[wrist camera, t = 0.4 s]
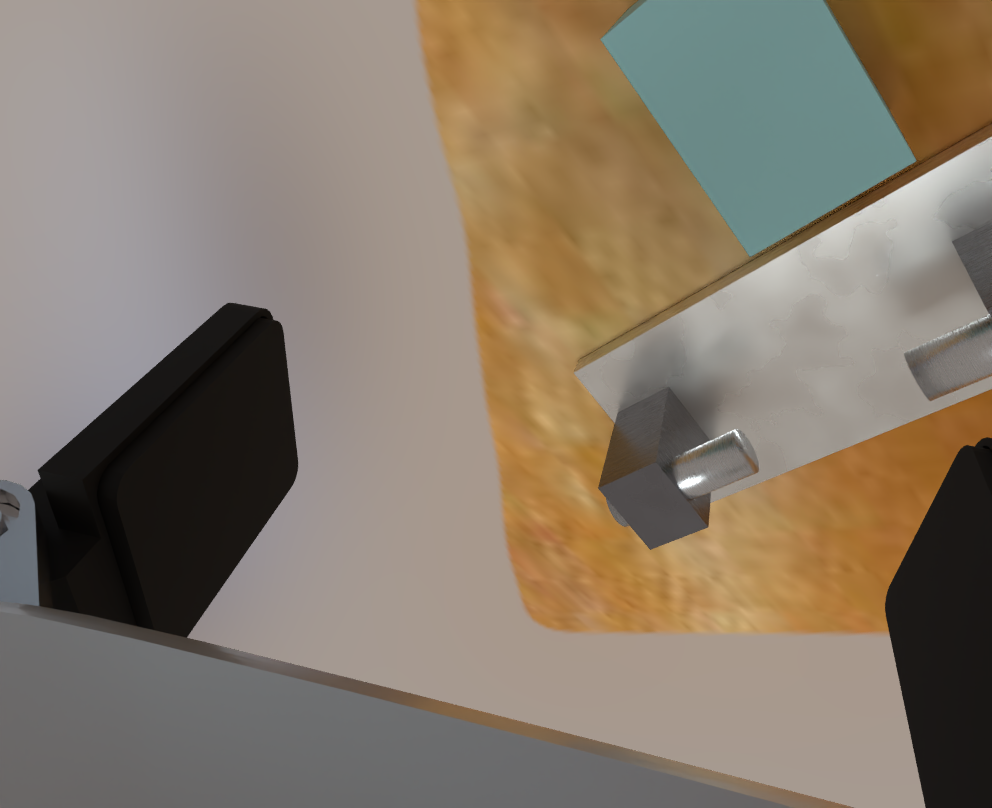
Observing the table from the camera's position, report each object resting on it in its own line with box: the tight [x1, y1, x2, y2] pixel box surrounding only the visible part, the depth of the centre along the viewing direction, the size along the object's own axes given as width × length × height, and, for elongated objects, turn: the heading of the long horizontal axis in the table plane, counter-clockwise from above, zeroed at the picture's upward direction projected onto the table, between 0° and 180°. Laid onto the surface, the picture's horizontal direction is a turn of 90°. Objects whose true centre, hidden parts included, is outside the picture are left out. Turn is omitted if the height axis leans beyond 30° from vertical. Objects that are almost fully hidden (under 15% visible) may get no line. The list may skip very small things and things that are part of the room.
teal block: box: [601, 0, 916, 257], centre depth 28 cm, size 6×9×6 cm, turn 40°
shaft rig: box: [574, 123, 992, 550], centre depth 33 cm, size 10×20×7 cm, turn 130°
